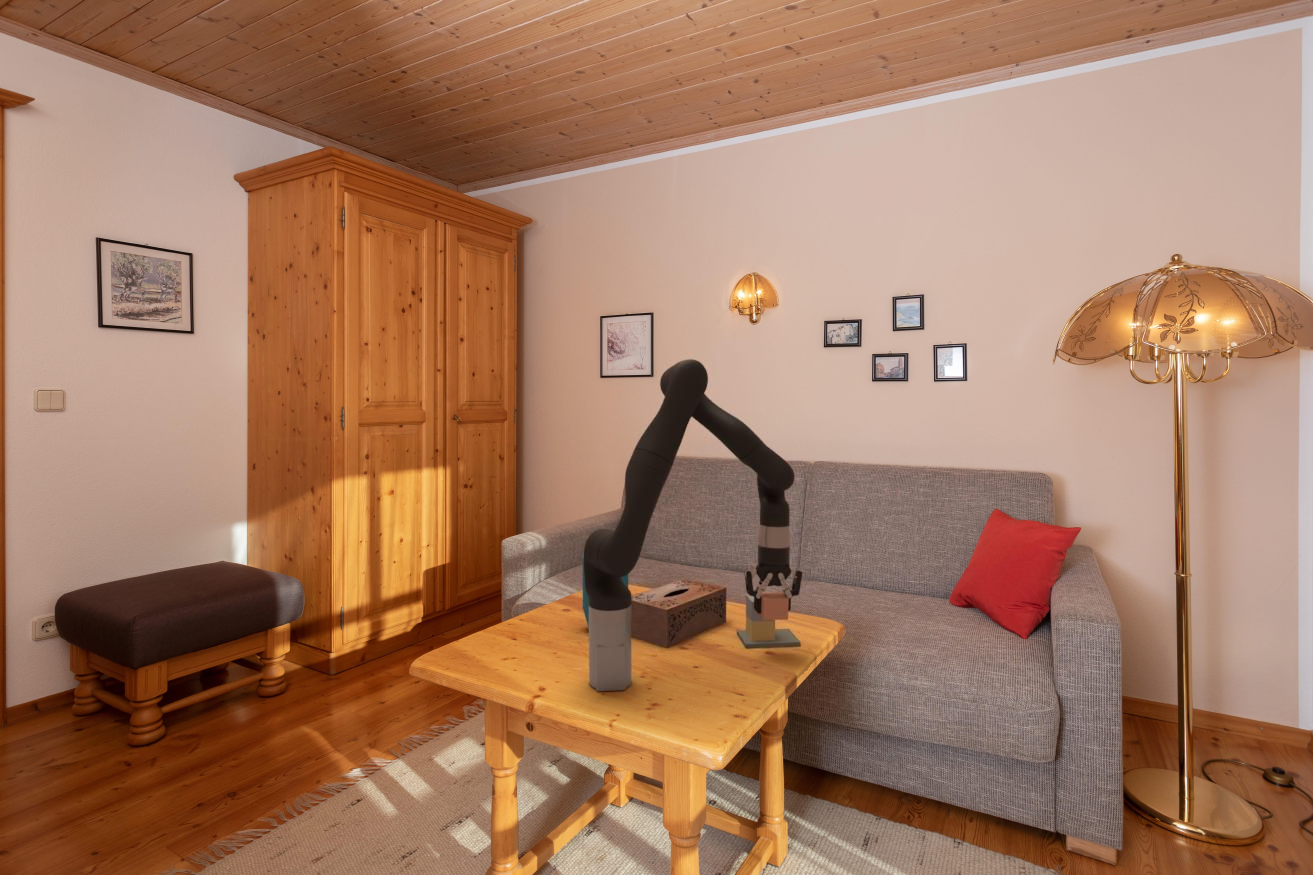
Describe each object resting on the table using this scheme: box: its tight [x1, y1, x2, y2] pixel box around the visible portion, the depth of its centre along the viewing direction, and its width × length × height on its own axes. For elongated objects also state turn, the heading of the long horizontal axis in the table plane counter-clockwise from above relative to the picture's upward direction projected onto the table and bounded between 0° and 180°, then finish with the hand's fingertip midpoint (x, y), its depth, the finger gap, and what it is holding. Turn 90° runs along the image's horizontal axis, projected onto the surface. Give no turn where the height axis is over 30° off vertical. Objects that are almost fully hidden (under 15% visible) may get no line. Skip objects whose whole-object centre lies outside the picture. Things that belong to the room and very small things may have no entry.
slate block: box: [745, 594, 776, 622], centre depth 174 cm, size 6×6×5 cm
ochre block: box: [745, 614, 776, 641], centre depth 174 cm, size 6×6×5 cm
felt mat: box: [736, 628, 802, 649], centre depth 174 cm, size 10×14×1 cm
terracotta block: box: [759, 591, 789, 621], centre depth 164 cm, size 6×6×5 cm
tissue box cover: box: [631, 578, 727, 649], centre depth 183 cm, size 26×14×10 cm, turn 139°
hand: (772, 612), depth 164 cm, fingers closed on terracotta block, 6 cm apart
